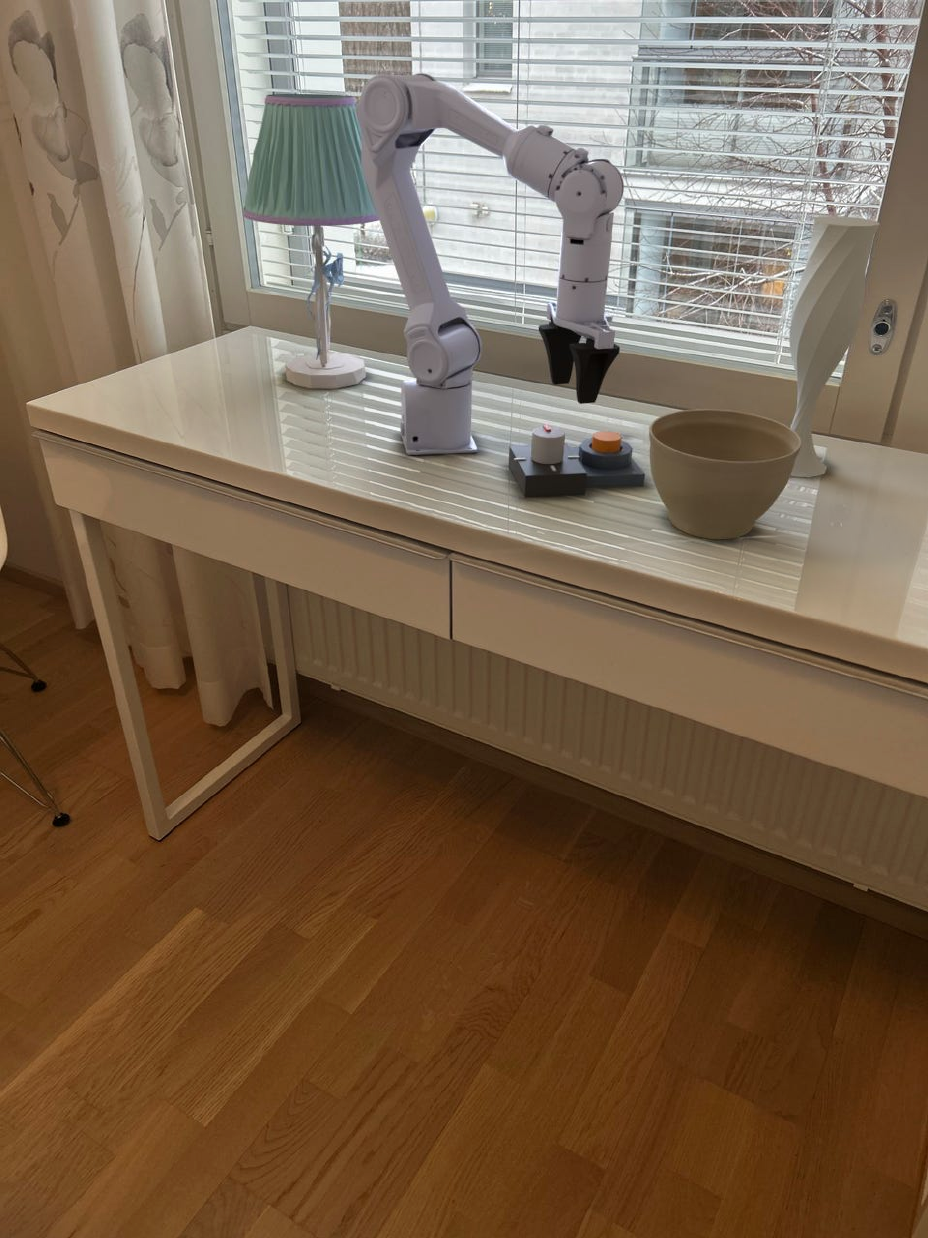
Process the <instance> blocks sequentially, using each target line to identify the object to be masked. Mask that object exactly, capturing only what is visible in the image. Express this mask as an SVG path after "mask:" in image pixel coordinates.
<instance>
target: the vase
mask: <svg viewBox="0 0 928 1238" xmlns="http://www.w3.org/2000/svg"><path fill="white" fill-rule="evenodd" d="M812 223H813V225H812V232H811V237H810V241H809V248H808V254H807V260H806V265H805V267H804V270H803V272H802V275H801V277H800V280H799V282H798V285H797V288H796V291H795V295H794V298H793V304H792V309H791V317H790V327H789V335H788V336H789V337H788V339H789V341H788V342H789V351H790V356H791V360H792V364H793V369H794V373H795V379H796V382H797V401H796V409H795V414H794V417H793V418H792V422H791V424H790V427H789V428H791V429H792V430H793V431H795V432H796V433H797V434H798V435H799V437H800V439H801V448H800V451H799V453H798V455H797V457H796V459H795V462H794V466H793V469H792V472H791V475H790V477H796V478H797V477H798V478H799V477H800V478H812V477H817V476H821V475H825V474H826V472H827V469H828V466H827V465H826V464H825V463H823V462H822V461H821V460H820V459H819V457H818V455H817V453H816V450H815V446H814V441H813V431H812V425H813V418H814V417H813V416H814V410H815V407H816V405H817V403H818V402H817V401H818V400H819V397H820V395H821V392H822V391H823V389H824V387H825V386H826V384H827V383H828V381H829V379H830V378H831V377H832V375H833V373H835V370H836V369H837V368H838V366H839V365H840V363H841V361H842V360H843V358H844V356H845V354H846V352H847V351H848V349H849V347H850V345H852V344H851V343H853V340H854V338H855V335H856V333H857V330H858V327H859V324H860V321H861V318H862V313H863V309H864V302H865V293H866V291H865V290H866V279H867V278H866V275H867V273H866V272H867V268H868V265H869V264H868V263H869V261H870V256H871V251H872V246H873V242H874V238H875V234H876V233H877V231H878V229H879V227H880V225H881V224H880V223H879V222H878V221H877V220H872V219H868V218H862V217H853V216H843V215H842V216H838V215H825V216H824V215H821V216H816V217H812Z"/></svg>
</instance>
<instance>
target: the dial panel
mask: <svg viewBox="0 0 928 1238" xmlns="http://www.w3.org/2000/svg"><path fill="white" fill-rule="evenodd" d="M531 446H532V444H510V445H509V447H508V465H507V466H508V469H509V471H510V472H511V475H512V477H513V478H514V481H515V483H516V484H517V487H518V489H519V490H520V492H521V494H522V496H523V498H524V499H531V498H532V499H533V498H553V497H555V498H557V497H576V496H577V497H578V496H585V495H586V488H585V487H586V476H587V473H586V471H585V470H584V468H583V467H582V465H581V464H580V462H579V461H578V460H577V458H579V456H575V455H574V454H573V452H572V451H571V449H570V448H569V447H570V446H569V445H568V443H566V442H565V443H564V455H563V460H562V461H561V462H560V463H556V464H541V463H537V462H535V461H533V460H532V459H531Z"/></svg>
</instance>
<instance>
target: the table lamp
mask: <svg viewBox="0 0 928 1238" xmlns="http://www.w3.org/2000/svg"><path fill="white" fill-rule="evenodd" d="M356 106H357V102H356V99H355V98H354V96H352V95H345V94H327V93H326V94H325V93H323V94H322V93H321V94H320V93H275V94H274V93H273V94H272V93H271V94H267V95H266V97H265V98H264V108H263V113H262V118H261V123H260V128H259V132H258V137H257V141H256V143H255V147H254V150H253V153H252V163H251V166H250V171H249V175H248V179H247V186H246V193H245V202H244V206H243V209H242V215H243V217H244V218H246V219H247V220H251V221H253V222H258V223H265V224H271V225H279V226H280V225H281V226H294V227H295V226H296V227H298V226H299V227H313V234H312V235H311V244H310V245H311V250H312V253H313V254H312V255H313V257H314V259H315V263H314V269H313V271H314V274H313V277H314V278H313V285H312V286H311V292H310V293H309V294H308V296H307V299H306V305H307V310H308V315H309V316H310V317H312V320H313V322H314V329H315V331H314V332H315V341H316V349H317V353H310V354H309V353H308V354H304V355H296V356H295V357H294V358H292V359H291V360H289V361H288V362H286V363H285V364H284V368H285V376H286V381H287V382H289V383H291V384H293V385H294V386H298V387H301V388H302V387H303V388H306V389H330V390H331V389H341V388H345V387H349V386H355V385H358V384H359V383H361V382H362V381H363V380H364V379H365V378H366V377H367V374H366V366H365V360H364V359H362V358H359V357H357V356H354V355H351V354H349V353H334V352H333V353H332V352H330V348H331V326H332V325H331V324H332V322H331V319H332V318H331V317H332V316H331V298H332V290H333V288H334V286H335V284H336V285H337V288H340V287H342V286H343V285H344V284H345V277H344V254H343V253H342V252H336V259H334V260H333V261H332V262H330V263H329V261H330V260H331V258H332V251H330V249H329V247H328V246H326V245H325V234H324V233H325V231H324V227H334V226H335V227H337V226H352V225H360V224H361V225H362V224H369V223H373V222H378V221H379V222H380V220H379V217H378V214H377V212H376V209H375V206H374V203H373V200H372V197H371V194H370V191H369V188H368V185H367V182H366V179H365V176H364V173H363V169H362V162H361V154H362V130H361V127H360V124H359V121H358V118H357V115H356V112H355V109H356ZM323 247H325V249H326V250H327V252H326V250H323ZM324 256H325V259H324ZM327 281H328V282H327ZM328 283H329V288H328ZM313 295H314V314H313V312H312V311H311V307H310V306H311V304H310V303H311V301H310V300H311V298H312V296H313Z"/></svg>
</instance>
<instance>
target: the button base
mask: <svg viewBox="0 0 928 1238" xmlns="http://www.w3.org/2000/svg"><path fill="white" fill-rule="evenodd" d="M592 438H593V437H591V438H587V439H584V440H583V441H581V443H580V444H579V446H569V448H570V449H571V451H572V452H573V454H574V455H575V456H579V458H577V460H578V461H579V462H580V464H581V465H582V467H583V468H584V470H585V471H586V473H587V476H586V487H585V489H606V488H624V487H625V488H627V487H628V488H629V487H644V484H645V477H646V473H645V472H644V471H643V469H642V468H641V467H640V466H639V465H638V464H637V462H636V461H635V460H634V458H633V447H632V445H631V444H630V443H629V442H626V441H624V440H621V446H620V451H619V452H615V453H603V452H597V451H595V450H593V449H592Z"/></svg>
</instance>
